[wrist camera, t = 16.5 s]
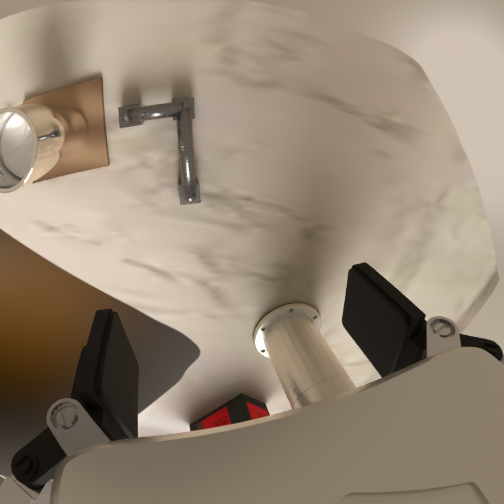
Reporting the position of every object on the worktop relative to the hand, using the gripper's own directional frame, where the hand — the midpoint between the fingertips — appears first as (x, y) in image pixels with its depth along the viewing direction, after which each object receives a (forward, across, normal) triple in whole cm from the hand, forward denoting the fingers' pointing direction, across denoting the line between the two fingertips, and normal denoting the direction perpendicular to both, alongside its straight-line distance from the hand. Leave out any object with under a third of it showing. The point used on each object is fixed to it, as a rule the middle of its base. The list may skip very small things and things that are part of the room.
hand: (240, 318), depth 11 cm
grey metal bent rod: (+27, +4, -4) cm, 28 cm away
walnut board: (+27, +16, -9) cm, 33 cm away
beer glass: (+26, +15, -9) cm, 32 cm away
